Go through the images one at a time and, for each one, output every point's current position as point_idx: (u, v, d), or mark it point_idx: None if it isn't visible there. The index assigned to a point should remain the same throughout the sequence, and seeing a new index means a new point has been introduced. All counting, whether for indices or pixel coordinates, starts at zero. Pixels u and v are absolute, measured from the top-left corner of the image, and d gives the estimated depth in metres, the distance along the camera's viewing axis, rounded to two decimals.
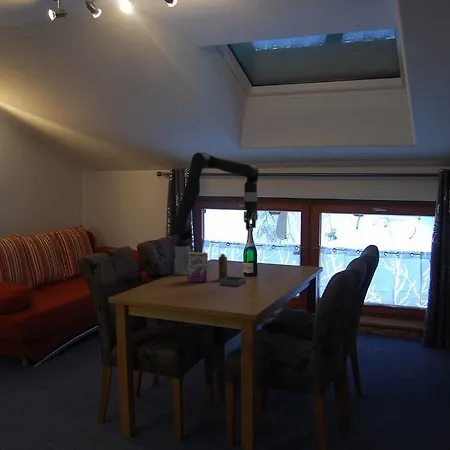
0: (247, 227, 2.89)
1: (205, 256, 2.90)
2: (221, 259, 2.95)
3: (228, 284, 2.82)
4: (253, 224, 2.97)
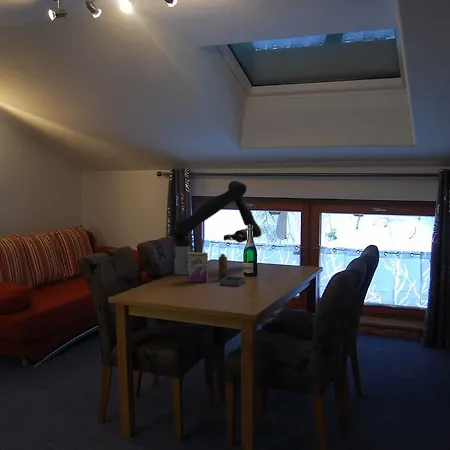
0: (239, 239, 3.04)
1: (205, 256, 2.90)
2: (221, 259, 2.95)
3: (228, 284, 2.82)
4: (226, 238, 3.09)
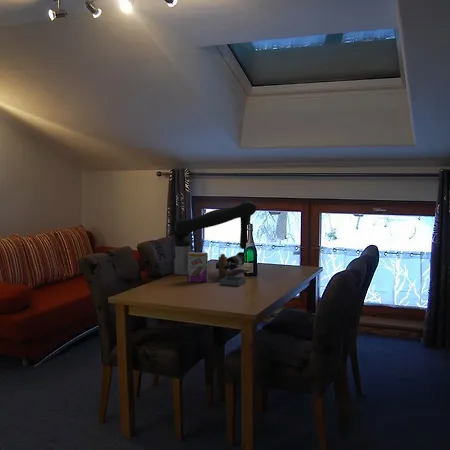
0: None
1: (205, 256, 2.90)
2: (221, 259, 2.95)
3: (228, 284, 2.82)
4: (218, 266, 2.98)
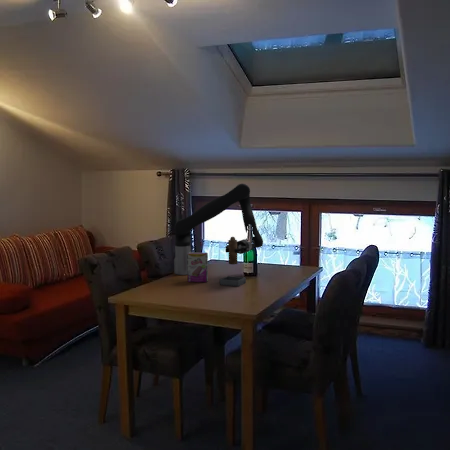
0: (237, 251, 2.82)
1: (205, 256, 2.90)
2: (231, 242, 2.82)
3: (228, 284, 2.82)
4: (228, 249, 2.85)
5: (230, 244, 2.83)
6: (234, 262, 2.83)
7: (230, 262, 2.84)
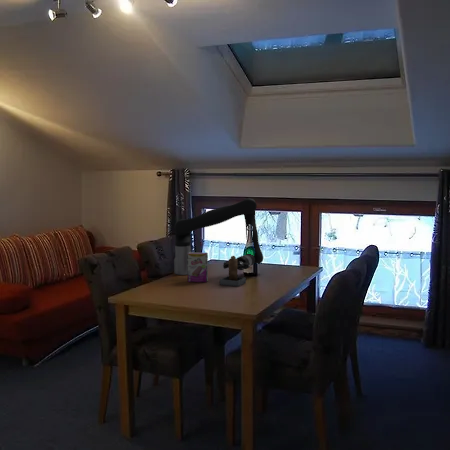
0: (240, 267, 2.83)
1: (205, 256, 2.90)
2: (231, 261, 2.83)
3: (228, 284, 2.82)
4: (226, 266, 2.87)
5: (230, 263, 2.84)
6: None
7: None
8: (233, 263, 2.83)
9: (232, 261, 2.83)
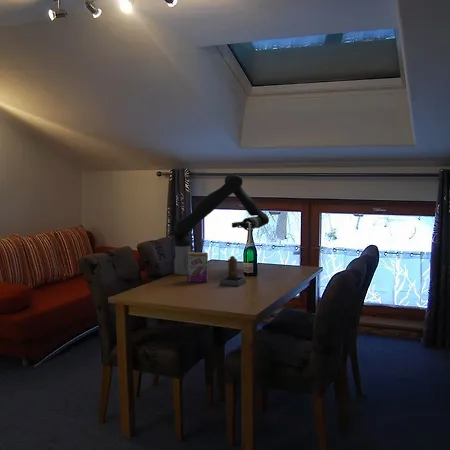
0: None
1: (205, 256, 2.90)
2: (231, 261, 2.83)
3: (228, 284, 2.82)
4: (234, 225, 3.05)
5: (230, 263, 2.84)
6: None
7: None
8: (232, 263, 2.83)
9: (231, 261, 2.83)
